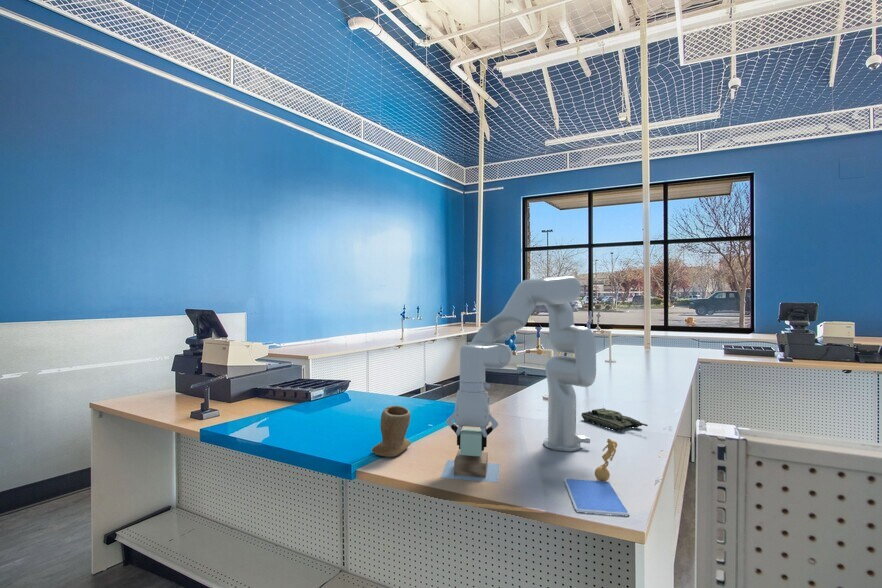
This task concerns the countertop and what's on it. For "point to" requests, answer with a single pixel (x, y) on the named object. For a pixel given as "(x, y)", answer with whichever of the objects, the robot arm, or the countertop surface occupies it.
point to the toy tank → (610, 419)
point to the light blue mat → (490, 476)
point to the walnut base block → (471, 465)
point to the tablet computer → (595, 497)
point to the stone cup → (393, 431)
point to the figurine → (601, 471)
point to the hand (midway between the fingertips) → (471, 448)
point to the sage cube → (471, 442)
